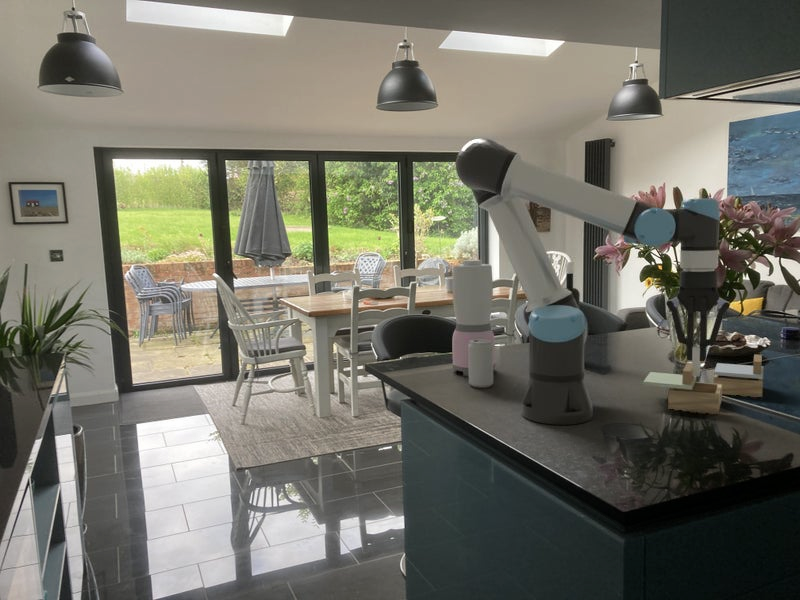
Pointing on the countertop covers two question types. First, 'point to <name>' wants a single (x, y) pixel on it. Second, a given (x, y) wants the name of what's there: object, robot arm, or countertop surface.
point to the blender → (471, 309)
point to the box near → (696, 398)
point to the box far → (740, 386)
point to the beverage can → (480, 363)
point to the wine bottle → (571, 283)
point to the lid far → (741, 369)
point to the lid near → (672, 379)
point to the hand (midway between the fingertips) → (696, 374)
